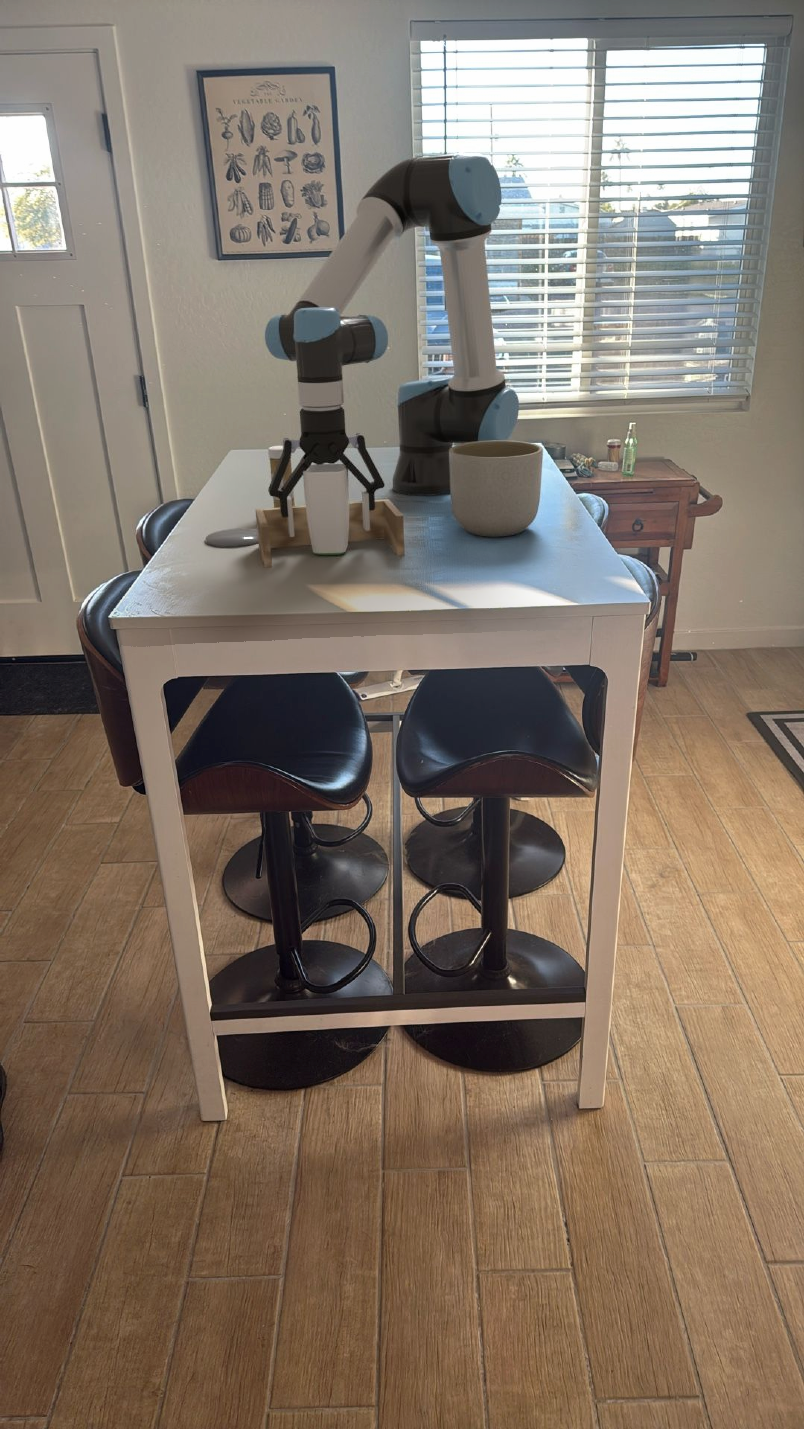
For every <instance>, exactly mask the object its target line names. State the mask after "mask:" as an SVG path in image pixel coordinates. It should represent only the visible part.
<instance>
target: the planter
mask: <svg viewBox="0 0 804 1429" xmlns="http://www.w3.org/2000/svg"><path fill="white" fill-rule="evenodd" d="M543 456H544V448H543V447H542V446H541V445H539V444H536V443H533V442H527V441H519V440H507V441H505V440H493V441H477V442H469V443H463V444H460V443H458V444H456V445H454V446H453V445H452V447H451V448H450V449H449V469H450V493H449V494H450V504H451V511H452V514H453V517H454V519H455V521H456V522H457V524H458V525H459V526H460V527H461V528H462V529H464V530H465V531H466V532H468V533H469V534H472V535H476V536H480V537H488V538H490V537H491V538H492V537H493V538H498V537H508V536H514V535H517V534H520V533H522V532H523V531H524V530H526V529H527V528H528V527H529V526H530V525H531V524H533V522H534V521H535V520H536V517H537V515H538V511H539V508H540V498H541V489H542V477H543V476H542V473H543V460H544V459H543V458H544V457H543Z"/></svg>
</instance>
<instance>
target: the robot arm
mask: <svg viewBox="0 0 804 1429" xmlns="http://www.w3.org/2000/svg"><path fill="white" fill-rule="evenodd" d="M502 198H503V196H502V187H501V182H500V178H499V175H498V173H497V170H496V168H495V166H494V164H493V163H492V162H491V161H490V160H489V158H488V157H486V156H485V155H483V154H482V153H477V152H473V153H471V152H457V153H456V152H455V153H446V154H439V155H430V156H429V155H428V156H416V157H410V158H408V159H405V160H403V161H401V162H399V163H397V164H396V165H394V166H393V167H391V168H390V169H389V170H388V171H386V172H385V173H383V175H382V176H381V177H379V179H377V180H376V182H375V183H373V185H372V186H371V187H370V188H369V189H368V191H367V192H366V193H365V195H364V196H363V197H362V198H361V200H360V201H359V203H358V204H357V206H356V217H355V218H354V220H353V221H352V223H351V224H350V225H349V227H348V229H347V230H346V231H345V233H344V234H343V236H342V237H341V239H340V240H339V242H337V244H336V246H335V247H334V249H332V251H331V253H330V254H329V256H328V258H326V260H325V262H323V264H322V265H321V267H320V269H319V270H318V272H317V273H316V275H315V276H314V277H313V279H312V281H311V282H310V283H309V285H308V286H307V288H306V289H305V291H304V292H303V293H302V295H301V296H300V297H299V299H298V301H297V302H296V303H295V305H294V307H293V308H292V309H291V310H290V312H289V314H286V313H285V314H284V313H283V314H280V315H275V316H273V317H271V318H270V319H269V321H268V322H267V323H266V327H265V331H264V341H265V345H266V347H267V348H266V349H268V352H269V353H270V355H271V356H273V357H274V358H276V359H279V360H282V361H283V360H285V361H290V362H296V370H297V372H296V374H297V390H298V404H299V406H300V407H301V409H300V410H299V420H300V424H299V425H300V437H299V439H290V438H288V437H284V438H283V439H282V440H283V441H282V446H283V452H282V455H281V457H280V460H279V463H278V465H277V468H276V470H275V473H274V476H273V478H272V481H271V480H270V483H269V487H268V489H267V491H268V493H269V495H270V497H273V496H274V497H278V498H279V499H280V511H281V515H282V517H287V519H288V532H289V535H290V537H295V536H294V523H293V510H292V499H291V497H290V496H288V495H289V494H290V493H291V491H292V490H293V489H295V487H296V486H297V484H298V483H299V481H300V480H301V478H302V477H303V471H306V470H307V469H308V468H309V467H310V465H313V464H317V465H320V464H336V463H337V462H339V461H340V462H341V464H344V465H345V466H346V467H347V468H348V472H350V473H351V474H352V475H353V476H354V477H355V478H356V479H357V481H359V483H360V484H361V485H362V486H363V488H365V490H361V501H362V510H363V527H364V529H365V530H366V531H369V530H370V516H369V511H370V510H374V509H375V500H376V499H375V494H376V491H378V490H379V489H383V488H385V485H386V484H385V482H384V480H383V478H382V476H381V474H380V473H379V470H378V468H377V466H376V465H375V463H374V460H373V459H372V457H371V455H370V452H368V450H367V448H366V439H365V436H364V435H362V433H360V432H359V433H355V435H349V436H348V435H347V432H346V416H345V409H344V407H343V406H342V405H343V404H344V403H345V399H344V397H345V396H344V395H345V394H344V383H343V382H344V381H343V379H344V378H343V367H344V366H348V365H356V364H362V363H366V364H368V363H370V362H373V361H375V360H378V359H380V358H381V357H382V356H383V355H384V354H385V353H386V350H387V348H388V346H389V334H388V330H387V327H386V325H385V323H384V322H383V320H381V319H380V318H379V317H377V316H375V315H366V314H358V315H355V316H341V315H342V314H343V312H344V311H345V310H346V308H347V307H348V305H349V303H350V302H351V300H352V299H353V298H354V296H355V295H356V293H357V292H358V291H359V289H360V287H361V286H362V285H363V283H364V282H365V280H366V278H367V277H369V274H370V272H371V271H372V269H373V268H374V267H375V265H376V264H377V262H378V261H379V259H380V258H381V256H382V255H383V253H384V252H385V250H386V249H387V248H388V246H389V245H390V244H393V243H396V242H397V241H399V239H400V238H401V236H402V235H403V234H404V233H405V232H407V231H408V230H410V229H414V228H418V227H419V228H420V227H421V228H424V227H425V228H427V227H428V233H429V238H430V242H431V243H432V244H434V245H435V246H436V247H437V248H438V249H439V254H440V255H439V257H440V264H441V272H442V273H441V274H442V280H443V290H444V298H445V304H446V315H447V321H448V322H447V323H448V331H449V332H448V334H449V338H450V339H449V340H450V347H451V357H452V364H453V365H452V366H453V376H452V377H450V376H449V377H447V376H446V377H445V376H444V377H443V376H442V377H435V378H427V379H421V380H415V381H409V382H404V383H403V384H402V385H400V387H399V389H398V394H397V405H396V407H397V411H398V412H397V414H398V416H397V417H398V443H399V444H398V445H399V454H398V455H399V456H398V458H397V463H396V466H395V468H394V473H393V477H392V490H393V491H394V492H396V493H399V494H404V495H411V496H437V495H443V494H445V495H446V494H450V469H449V449H450V448H451V447H453V444H463V443H469V442H477V441H493V440H505V441H509V439H510V437H511V436H512V434H513V432H514V430H515V427H516V426H517V421H518V418H519V413H520V412H519V410H520V401H519V397H518V394H517V393H516V391H515V390H514V389H512V388H510V387H507V386H506V378H505V377H506V375H505V374H504V373H503V372H502V371H500V370H499V369H498V368H497V361H496V359H497V358H496V350H495V340H494V339H495V338H494V328H493V319H492V308H491V307H492V306H491V297H490V284H489V277H488V264H487V263H488V262H487V254H486V239H488V237H489V236H490V234H491V232H493V231H492V223H494V222H495V221H496V220H497V218H498V216H500V215H499V214H500V211H501V207H500V206H501V204H502V201H503V200H502ZM349 445H352V447H353V448H354V449H357V451H358V453H359V455H360V457H361V460H363V462H364V465H365V466H366V468H367V470H368V472H369V474H370V476H371V478H372V479H373V481H372V482H370V481H369V480H368V478H367V477H366V476H365V475H364V474H363V473H362V472H361V471H360V470H359V469H358V468H357V467H356V465H355V464H354V463H353V462H352V461H351V460H350V459H349V458H348V457H347V455H346V454H345V451H346V449H347V448H348V446H349ZM297 448H300V450H302V452H303V453H304V454H303V456H301V459H300V461H299V463H298V464H297V465H296V467H295V468H294V470H292V474H291V475H290V477H289V478H288V480H287V481H286V482H285V484H284V485H283V487H282V488H281V489H279V486H280V483H281V481H282V478H283V476H284V473H285V470H286V468H287V465H288V463H289V460H290V457H291V458H292V456H291V454H294V453H296V451H297Z"/></svg>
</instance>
